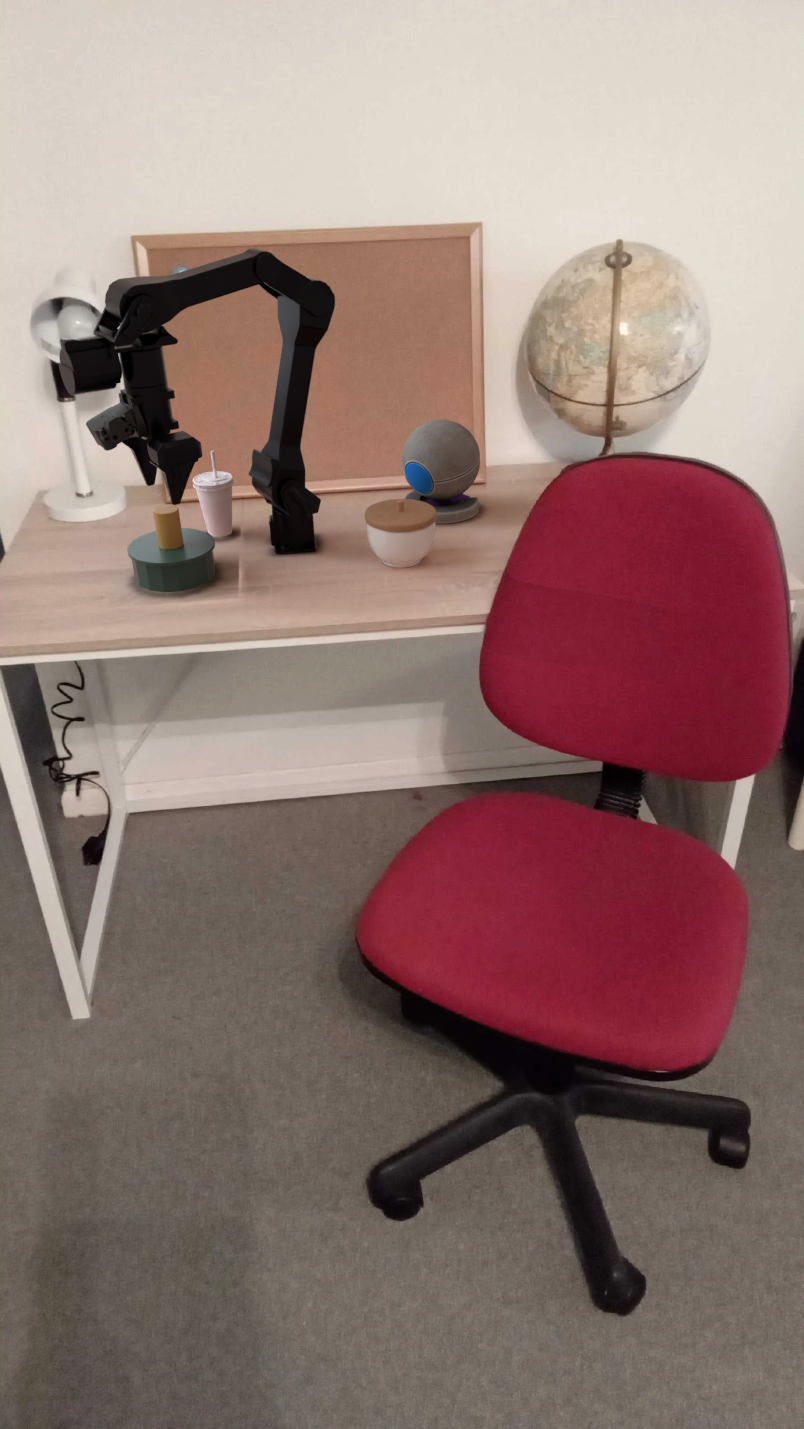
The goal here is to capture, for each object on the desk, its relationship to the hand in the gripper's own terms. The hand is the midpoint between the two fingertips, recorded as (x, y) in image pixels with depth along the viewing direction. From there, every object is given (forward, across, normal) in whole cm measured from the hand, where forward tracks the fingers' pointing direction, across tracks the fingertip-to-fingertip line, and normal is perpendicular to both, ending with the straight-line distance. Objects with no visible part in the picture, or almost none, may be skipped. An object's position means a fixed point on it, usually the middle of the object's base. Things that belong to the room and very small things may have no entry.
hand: (163, 494), depth 141 cm
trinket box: (+13, +14, +31) cm, 36 cm away
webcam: (+13, +2, +48) cm, 49 cm away
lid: (+8, 0, 0) cm, 8 cm away
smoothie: (+13, -11, +12) cm, 21 cm away
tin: (+13, 0, 0) cm, 13 cm away
